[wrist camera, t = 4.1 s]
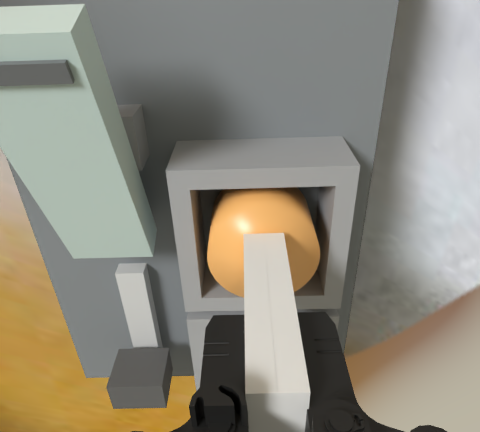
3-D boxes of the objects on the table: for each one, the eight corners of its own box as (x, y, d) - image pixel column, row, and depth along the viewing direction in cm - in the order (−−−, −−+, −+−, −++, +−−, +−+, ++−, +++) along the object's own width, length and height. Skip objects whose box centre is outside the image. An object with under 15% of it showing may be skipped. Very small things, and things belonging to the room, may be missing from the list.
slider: (124, 369, 23) (113, 408, 21) (118, 348, 22) (106, 387, 20) (173, 368, 23) (166, 407, 21) (169, 347, 22) (161, 386, 20)
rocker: (81, 231, 18) (72, 261, 17) (-46, 8, 11) (-76, 40, 10) (157, 229, 18) (152, 259, 17) (84, 3, 11) (68, 35, 10)
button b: (214, 257, 19) (211, 301, 17) (208, 175, 17) (202, 211, 14) (305, 255, 19) (316, 298, 17) (311, 172, 17) (324, 208, 14)
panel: (104, 329, 29) (68, 423, 23) (-11, -61, 17) (-152, -78, 11) (328, 324, 28) (352, 418, 22) (376, -75, 16) (455, -102, 10)
